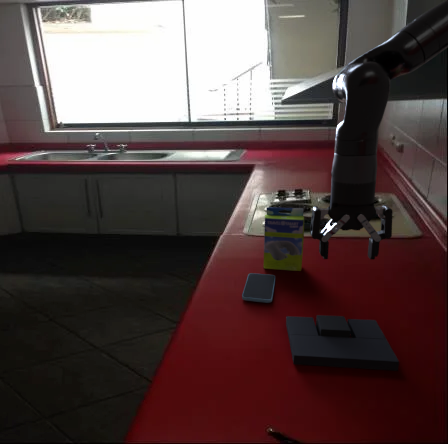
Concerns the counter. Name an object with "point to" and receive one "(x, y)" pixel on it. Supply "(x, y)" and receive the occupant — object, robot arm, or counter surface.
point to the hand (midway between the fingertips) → (347, 257)
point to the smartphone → (259, 288)
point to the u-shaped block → (340, 345)
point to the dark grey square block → (332, 326)
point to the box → (283, 239)
